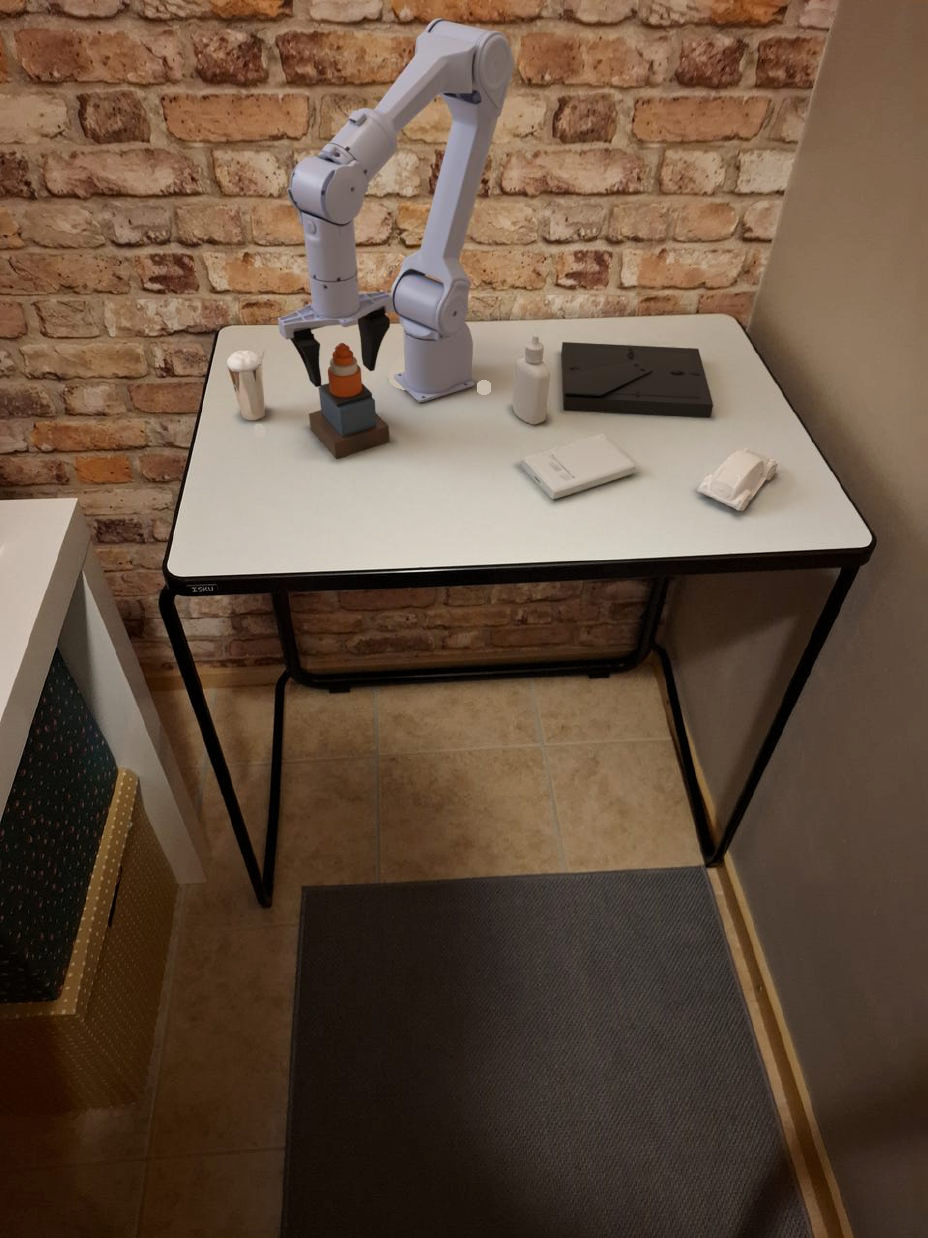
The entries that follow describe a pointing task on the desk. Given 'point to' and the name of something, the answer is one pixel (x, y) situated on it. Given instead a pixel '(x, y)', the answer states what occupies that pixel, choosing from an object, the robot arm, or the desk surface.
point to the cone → (344, 378)
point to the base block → (348, 436)
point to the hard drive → (577, 466)
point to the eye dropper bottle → (531, 384)
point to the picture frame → (634, 380)
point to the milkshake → (248, 383)
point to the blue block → (349, 414)
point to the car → (738, 478)
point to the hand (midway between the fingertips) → (342, 375)
